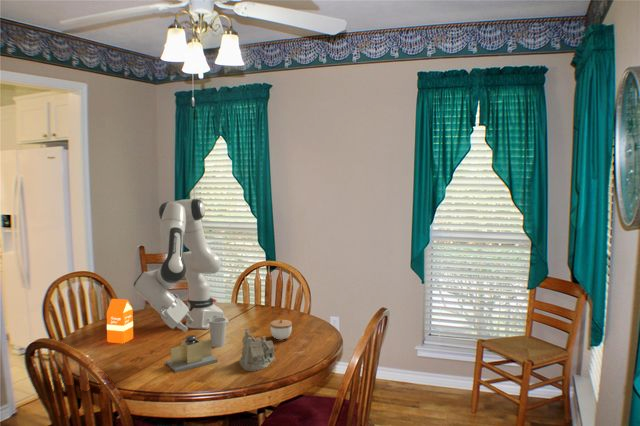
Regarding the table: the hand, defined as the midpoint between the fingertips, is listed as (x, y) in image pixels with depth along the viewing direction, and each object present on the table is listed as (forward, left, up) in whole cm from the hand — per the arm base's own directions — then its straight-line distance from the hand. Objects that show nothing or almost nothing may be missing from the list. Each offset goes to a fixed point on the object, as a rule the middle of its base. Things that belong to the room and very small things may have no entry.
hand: (189, 326), depth 193 cm
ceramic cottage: (-24, +17, -16) cm, 33 cm away
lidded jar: (-48, -2, -16) cm, 50 cm away
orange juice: (+16, -45, -16) cm, 51 cm away
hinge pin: (0, +1, -14) cm, 14 cm away
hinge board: (-1, +1, -16) cm, 16 cm away
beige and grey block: (-1, +1, -14) cm, 14 cm away
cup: (-19, -12, -16) cm, 27 cm away
